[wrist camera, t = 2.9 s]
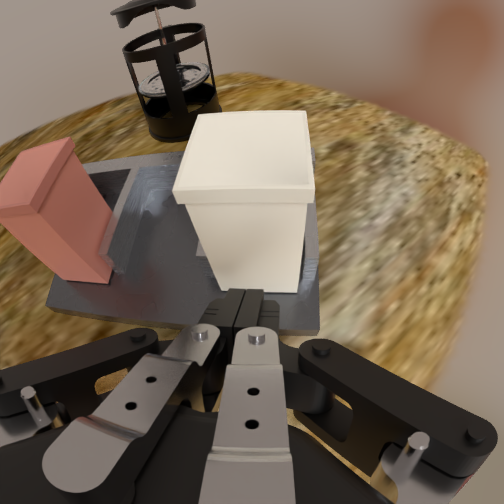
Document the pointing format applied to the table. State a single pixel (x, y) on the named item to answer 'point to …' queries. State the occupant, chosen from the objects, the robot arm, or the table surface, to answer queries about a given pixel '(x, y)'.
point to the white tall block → (249, 195)
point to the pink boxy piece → (56, 211)
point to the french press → (169, 72)
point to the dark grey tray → (168, 256)
